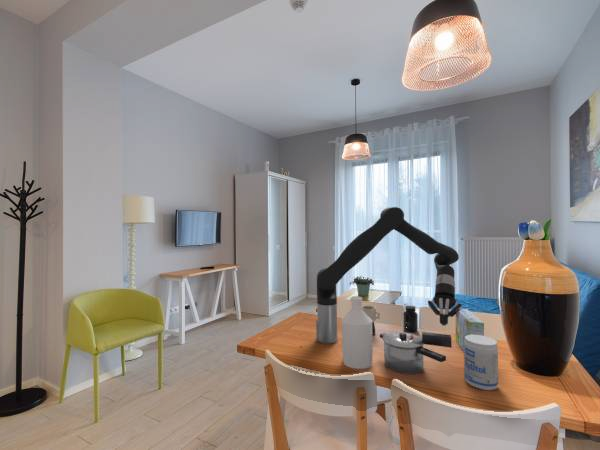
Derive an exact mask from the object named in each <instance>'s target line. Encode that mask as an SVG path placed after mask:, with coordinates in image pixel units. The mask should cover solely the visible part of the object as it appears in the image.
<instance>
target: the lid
mask: <svg viewBox="0 0 600 450" xmlns="http://www.w3.org/2000/svg"><path fill="white" fill-rule="evenodd" d="M382 340H383V343H384V342H385V343H387V344H388V345H391V346H394V347H398V348H404V349H415V348H420V347H422V346H423V347H424V345H426V346H427V345H428V346H436V347H444V348H452V336H451V334H447V333H446V334H445V333H434V332H428V331H422V332H421V337H420V336H419V335H416V334H414V333H411V332H402V331H396V332H395V331H394V332H391V331H390V332H387V333H386V334H385V335H384V336H383V339H382Z"/></svg>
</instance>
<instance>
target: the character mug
mask: <svg viewBox="0 0 600 450" xmlns="http://www.w3.org/2000/svg"><path fill="white" fill-rule="evenodd" d="M362 310H363V311H364V312H365V313H366V315H367V316H368V317H369V318H370V319H371V320H372V335H373V334H376V328H375V321H376V319H380V317H381V316H380V311H377V307H376V306H373V305H367V304H366V305H362Z"/></svg>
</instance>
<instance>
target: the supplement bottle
mask: <svg viewBox="0 0 600 450" xmlns="http://www.w3.org/2000/svg"><path fill="white" fill-rule="evenodd" d="M404 310H405V311H404V312H403V313H402V314H403V316H402V318H403V319H402V320H403V321H402V322H403V323H402V324H403V325H402V326H403V327H402V328H403V331H405V332H406V333H417V332H418V331H419V330H418V329H419V328H418V325H419V323H418V321H419V320H418V319H419V318H418V316H419V315H418V313H417V312H416V306H413V305H405V309H404ZM406 327H407V328H406Z"/></svg>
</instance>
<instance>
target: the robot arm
mask: <svg viewBox="0 0 600 450" xmlns="http://www.w3.org/2000/svg"><path fill="white" fill-rule="evenodd" d="M379 215H380V218H379V219H378V220H376V222H375V223H374V224H373V225H371V226H370V227H369V228H367V229H366V230H364V231H362V232H361V233H360V234H359V235H357V236H356V237H355V238H354V239H353V240H351V242H350V243H348V245H347V246H346V247H345V248H344V249H343V251H342V252H341V254H339V256H338V258H337V259H336V260H334V262H333V263H331V264H330V265H329V266H328V267H325V268H322V269H320V270H319V271H318V272H317V275H316V301H317V302H316V306H317V307H316V308H317V309H316V311H317V312H316V313H317V316H316V317H317V319H316V321H315V322H316V324H315V326H316V327H315V329H316V336H315V337H316V338H315V339H316V342H320V343H322V344H334V343H336V342H337V341H338V299H337V284H338V283H339V282H340V281H341V280H342V279H343V277H344V276H345V275H346V274H347V273H348V272H349V271H350V270H351V269H353V268H354V267H355V266H356V265H358V264H359V263H360V262H361V261H362V260H363V259H364V258H365V257H367V256H368V254H369V253H371V251H373V249H375V248H376V246H377V245H379V243H380V242H381V241H382V240H383V239H384V238H385V237H386V236H387V235H388V234H390V233H391V232H392V231H394V230H395V232H398V233H399V234H401V235H402V236H404V237H405V238H406V239H408V240H409V241H411V242H412V243H413V244H414V245H415V246H417V247H418V248H420V249H421V250H423V252H425V253H426V254H428V255H435V256H434V259H433V262H434V266H435V269H436V279H435V286H434V287H435V288H434V297H433V299H432V300H428V301H427V304H428V306H429V308H430V309H431V310H432V312H433V313H434V314H435V315H436V316H439V323H440V325H441V326H444V327H446V326H447V325H448V324H449V317H451V318H454V316H456V313H458V312H459V311H460V310H461V309H463V308H462V304H461V303H458V302H457V300H456V282H455V269H454V267H453V266H452V265H453V264H454V263H457V261H458V260H459V253H458V252H457V250H455V249H454V248H453V247H451V246H449V245H446V244H444V243H442V242H440V241H438V240H437V239H434V238H433V236H430V235H429V234H428V233H426V232H425V231H423V230H421V229H419V228H417V227H415V226H414V225H413V224H411V223H410V222H408V221H406V220H405V213H404V211H403V210H402V208H400V207H397V206H390V207H387V208H384V209H383V210H382V211H381V212H380V214H379ZM436 306H437V307H436Z"/></svg>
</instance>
